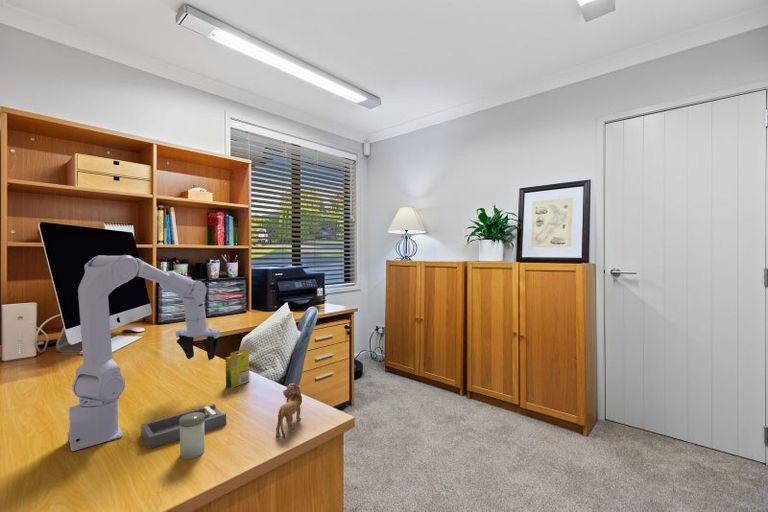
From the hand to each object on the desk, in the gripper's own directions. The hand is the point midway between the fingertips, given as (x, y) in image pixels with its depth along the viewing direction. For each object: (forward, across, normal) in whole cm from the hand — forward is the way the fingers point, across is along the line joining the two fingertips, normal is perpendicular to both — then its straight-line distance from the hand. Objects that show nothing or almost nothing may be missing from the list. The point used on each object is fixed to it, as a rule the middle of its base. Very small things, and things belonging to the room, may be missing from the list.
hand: (201, 358), depth 117 cm
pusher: (+7, -15, +22) cm, 28 cm away
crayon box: (+12, -8, -5) cm, 15 cm away
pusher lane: (+7, -13, +25) cm, 29 cm away
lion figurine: (+9, -38, +18) cm, 43 cm away
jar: (+6, -23, +34) cm, 41 cm away
